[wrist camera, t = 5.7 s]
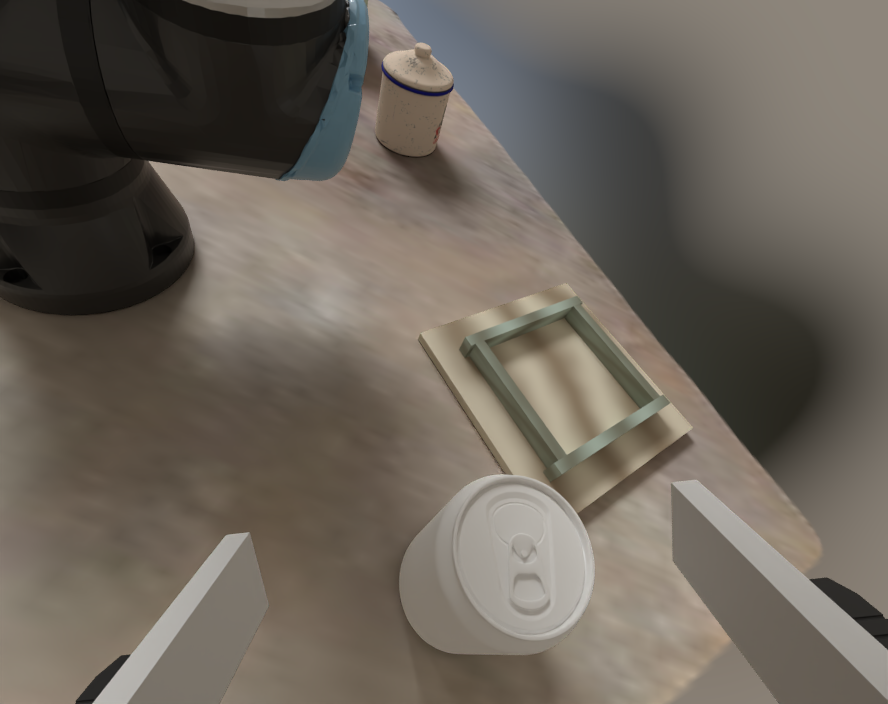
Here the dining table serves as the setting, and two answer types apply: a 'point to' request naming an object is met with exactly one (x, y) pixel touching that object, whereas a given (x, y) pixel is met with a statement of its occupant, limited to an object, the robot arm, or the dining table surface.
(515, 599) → the beverage can
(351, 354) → the dining table surface
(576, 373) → the board
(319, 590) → the dining table surface
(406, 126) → the teacup with lid
